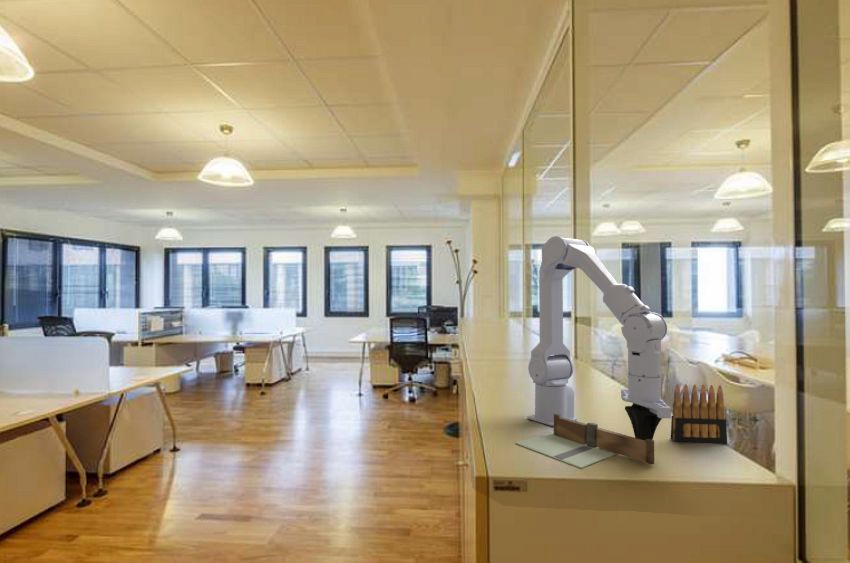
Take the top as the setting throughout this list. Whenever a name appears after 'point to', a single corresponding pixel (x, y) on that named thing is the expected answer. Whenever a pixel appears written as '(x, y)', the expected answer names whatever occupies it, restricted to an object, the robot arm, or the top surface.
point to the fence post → (576, 430)
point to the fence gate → (626, 445)
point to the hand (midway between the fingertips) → (643, 445)
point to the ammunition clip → (698, 417)
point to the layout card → (566, 450)
